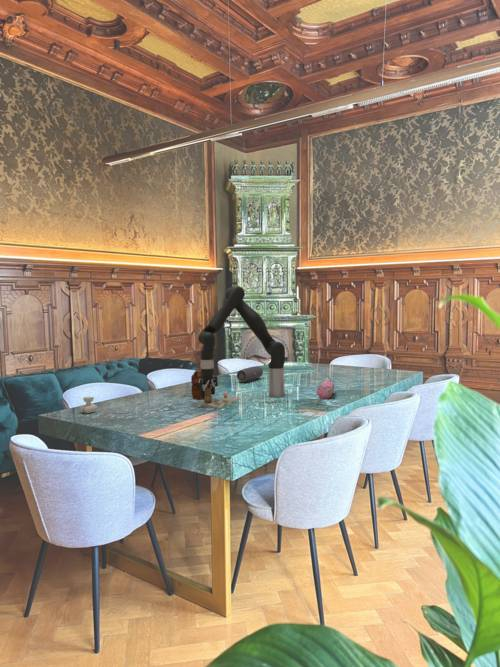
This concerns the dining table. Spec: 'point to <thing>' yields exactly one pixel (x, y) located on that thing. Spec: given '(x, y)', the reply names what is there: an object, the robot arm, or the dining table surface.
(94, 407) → the stamp
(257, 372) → the bluetooth speaker
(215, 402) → the board
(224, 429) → the dining table surface
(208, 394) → the walnut pin
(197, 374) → the wooden figurine
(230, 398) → the key plate
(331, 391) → the pencil case
